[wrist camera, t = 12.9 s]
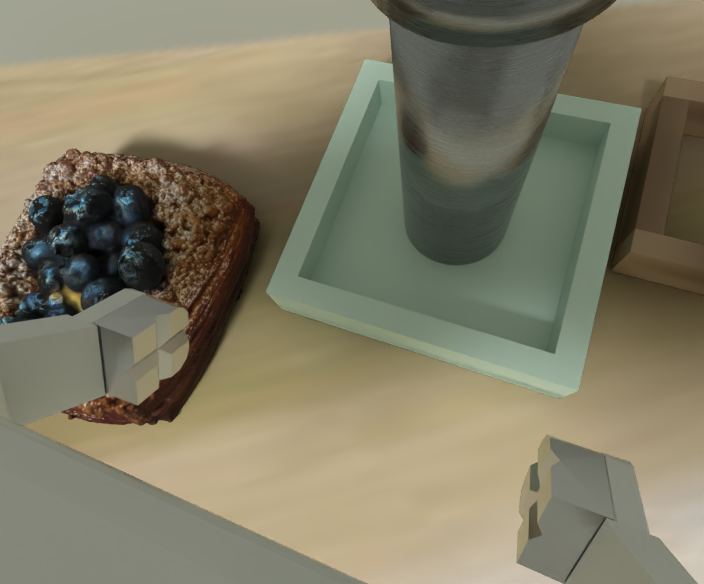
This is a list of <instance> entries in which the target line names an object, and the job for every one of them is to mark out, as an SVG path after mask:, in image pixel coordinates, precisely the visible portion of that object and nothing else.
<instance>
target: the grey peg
mask: <svg viewBox="0 0 704 584" xmlns="http://www.w3.org/2000/svg"><path fill="white" fill-rule="evenodd" d="M371 1H372V2H373V3H374V4H375V6H376V7H377V8H378V9H379V10H380V11H381V12H382V13H384V14H385V15H386V16H387V17H388V18H389V23H390V36H391V49H392V63H393V76H394V90H395V103H396V116H397V130H398V143H399V157H400V170H401V183H402V197H403V210H404V223H405V229H406V233H407V236H408V238H409V240H410V241H411V243H412V244H413V246H414V247H415V248H416V249H417V250H418V251H419V252H420V253H421V254H422V255H424V256H425V257H427V258H429V259H431V260H433V261H435V262H438V263H441V264H446V265H466V264H471V263H474V262H477V261H479V260H482V259H483V258H485V257H487V256H488V255H490V254H491V253H492V252H493V251H494V250H495V249H496V248H497V247H498V246H499V245H500V243H501V242H502V240H503V238H504V236H505V233H506V231H507V228H508V225H509V223H510V220H511V217H512V215H513V212H514V209H515V207H516V204H517V201H518V199H519V196H520V193H521V190H522V188H523V185H524V182H525V180H526V177H527V174H528V172H529V169H530V166H531V164H532V161H533V158H534V156H535V153H536V150H537V147H538V145H539V142H540V139H541V137H542V134H543V131H544V129H545V126H546V123H547V121H548V118H549V115H550V113H551V110H552V107H553V105H554V102H555V99H556V96H557V94H558V91H559V88H560V86H561V83H562V80H563V78H564V75H565V72H566V70H567V67H568V64H569V62H570V59H571V56H572V53H573V51H574V48H575V45H576V43H577V40H578V37H579V35H580V32H581V29H582V27H583V24H584V23H586V22H588V21H589V20H591V19H593V18H594V17H596V16H597V15H599V14H600V13H601V12H603V11H604V10H606V9H607V8H608V7H610V6H611V5H612V4H613V3H614V2H615V1H616V0H371Z"/></svg>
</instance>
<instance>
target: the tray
mask: <svg viewBox="0 0 704 584" xmlns="http://www.w3.org/2000/svg"><path fill="white" fill-rule="evenodd" d="M641 110H642V108H637V107H632V106H626V105H621V104H615V103H609V102H604V101H598V100H593V99H587V98H581V97H576V96H570V95H565V94H559V93H558V94H557V96H556V99H555V102H554V105H553V107H552V110H551V113H550V115H549V118H548V121H547V123H546V126H545V129H544V131H543V134H542V137H541V139H540V142H539V145H538V147H537V150H536V153H535V156H534V158H533V161H532V164H531V166H530V169H529V172H528V174H527V177H526V180H525V182H524V185H523V188H522V190H521V193H520V196H519V199H518V201H517V204H516V207H515V209H514V212H513V215H512V217H511V220H510V223H509V225H508V228H507V231H506V233H505V236H504V238H503V240H502V242H501V243H500V245H499V246H498V247H497V248H496V249H495V250H494V251H493V252H492V253H491V254H490V255H488V256H487V257H485V258H483V259H482V260H479V261H477V262H474V263H471V264H466V265H446V264H441V263H438V262H435V261H433V260H431V259H429V258H427V257H425V256H424V255H422V254H421V253H420V252H419V251H418V250H417V249H416V248H415V247H414V246H413V244H412V243H411V241H410V240H409V238H408V236H407V233H406V229H405V223H404V210H403V197H402V183H401V170H400V157H399V143H398V130H397V116H396V103H395V90H394V76H393V64H391V63H385V62H380V61H374V60H369V59H365V61H364V63H363V65H362V68H361V70H360V72H359V75H358V77H357V79H356V82H355V84H354V86H353V89H352V91H351V93H350V96H349V98H348V101H347V103H346V105H345V108H344V110H343V112H342V115H341V117H340V119H339V122H338V124H337V126H336V129H335V131H334V133H333V136H332V138H331V140H330V143H329V145H328V147H327V150H326V152H325V154H324V157H323V159H322V161H321V164H320V166H319V168H318V171H317V173H316V175H315V178H314V180H313V182H312V185H311V187H310V189H309V192H308V194H307V196H306V199H305V201H304V203H303V206H302V208H301V210H300V213H299V215H298V217H297V220H296V222H295V224H294V227H293V229H292V231H291V234H290V236H289V238H288V241H287V243H286V245H285V248H284V250H283V252H282V255H281V257H280V259H279V262H278V264H277V266H276V269H275V271H274V273H273V276H272V278H271V280H270V283H269V285H268V288H267V290H266V293H267V294H268V295H269V296H270V297H271V298H272V299H273V300H274V301H275V302H276V303H277V304H278V305H279V307H280V308H281V309H283V310H286V311H289V312H292V313H295V314H298V315H301V316H304V317H308V318H311V319H314V320H317V321H320V322H323V323H326V324H329V325H332V326H335V327H339V328H342V329H345V330H348V331H351V332H354V333H357V334H360V335H363V336H366V337H370V338H373V339H376V340H379V341H382V342H385V343H388V344H391V345H394V346H397V347H401V348H404V349H407V350H410V351H413V352H416V353H419V354H422V355H425V356H428V357H431V358H435V359H438V360H441V361H444V362H447V363H450V364H453V365H456V366H459V367H462V368H466V369H469V370H472V371H475V372H478V373H481V374H484V375H487V376H490V377H493V378H497V379H500V380H503V381H506V382H509V383H512V384H515V385H518V386H521V387H524V388H528V389H531V390H534V391H537V392H540V393H543V394H546V395H549V396H552V397H555V398H558V399H560V398H563V397H565V396H567V395H570V394H572V393H574V392H577V391H579V386H580V382H581V377H582V373H583V368H584V364H585V360H586V355H587V351H588V346H589V342H590V337H591V333H592V328H593V324H594V319H595V315H596V310H597V306H598V301H599V297H600V293H601V288H602V284H603V279H604V275H605V270H606V266H607V261H608V257H609V252H610V248H611V243H612V239H613V235H614V230H615V226H616V221H617V217H618V212H619V208H620V203H621V199H622V194H623V190H624V185H625V181H626V177H627V172H628V168H629V163H630V159H631V154H632V150H633V145H634V141H635V136H636V132H637V127H638V123H639V118H640V114H641Z"/></svg>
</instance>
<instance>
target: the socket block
mask: <svg viewBox="0 0 704 584" xmlns="http://www.w3.org/2000/svg"><path fill="white" fill-rule="evenodd" d="M683 134H686V135H691V136H697V137H702V138H704V82H697V81H691V80H685V79H679V78H673V77H667V78H666V80H665V81H664V83H663V84H662V86H661V87H660V89H659V90H658V92H657V94H656V95H655V97H654V98H653V100H652V101H651V103H650V104H649V106H648V108H647V110H646V114H645V119H644V123H643V128H642V132H641V137H640V141H639V146H638V150H637V155H636V159H635V164H634V169H633V173H632V178H631V182H630V187H629V191H628V196H627V200H626V205H625V209H624V214H623V218H622V223H621V227H620V232H619V236H618V241H617V246H616V250H615V255H614V259H613V264H612V268H611V271H613V272H616V273H620V274H624V275H628V276H632V277H636V278H640V279H644V280H648V281H652V282H656V283H659V284H663V285H667V286H671V287H675V288H679V289H683V290H687V291H691V292H695V293H698V294H702V295H704V245H703V244H699V243H695V242H690V241H686V240H682V239H678V238H673V237H669V236H665V235H664V231H665V225H666V220H667V215H668V210H669V205H670V199H671V194H672V189H673V184H674V179H675V173H676V168H677V163H678V158H679V153H680V147H681V142H682V137H683Z"/></svg>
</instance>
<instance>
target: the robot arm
mask: <svg viewBox="0 0 704 584" xmlns="http://www.w3.org/2000/svg"><path fill="white" fill-rule="evenodd" d="M188 325H189V319H188V312H187V311H186V310H185V309H184V308H183V307H181V306H178V305H176V304H173V303H170V302H168V301H165V300H162V299H160V298H157V297H154V296H152V295H148V294H146V293H143V292H140V291H137V290H135V289H123V290H121V291H119V292H117V293H115V294H114V295H112V296H110V297H108V298H106V299H104V300H102V301H101V302H99V303H97V304H95V305H93V306H91V307H89V308H87V309H86V310H84V311H82V312H80V313H78V314H76V315H74V316H70V315H61V316H54V317H48V318H41V319H35V320H28V321H22V322H15V323H9V324H2V325H0V584H367V583H365V582H363V581H361V580H359V579H356V578H354V577H352V576H350V575H348V574H345V573H343V572H341V571H339V570H337V569H335V568H332V567H330V566H328V565H326V564H324V563H321V562H319V561H317V560H315V559H313V558H310V557H308V556H306V555H304V554H302V553H300V552H297V551H295V550H293V549H291V548H289V547H286V546H284V545H282V544H280V543H278V542H276V541H273V540H271V539H269V538H267V537H265V536H262V535H260V534H258V533H256V532H254V531H251V530H249V529H247V528H245V527H243V526H241V525H238V524H236V523H234V522H232V521H230V520H227V519H225V518H223V517H221V516H219V515H217V514H214V513H212V512H210V511H208V510H206V509H203V508H201V507H199V506H197V505H195V504H192V503H190V502H188V501H186V500H184V499H182V498H179V497H177V496H175V495H173V494H171V493H168V492H166V491H164V490H162V489H160V488H158V487H155V486H153V485H151V484H149V483H147V482H144V481H142V480H140V479H138V478H136V477H133V476H131V475H129V474H127V473H125V472H123V471H120V470H118V469H116V468H114V467H112V466H109V465H107V464H105V463H103V462H101V461H98V460H96V459H94V458H92V457H90V456H88V455H85V454H83V453H81V452H79V451H77V450H74V449H72V448H70V447H68V446H66V445H63V444H61V443H59V442H57V441H55V440H53V439H50V438H48V437H46V436H44V435H42V434H39V433H37V432H35V431H33V430H31V429H29V428H26V427H24V425H27V424H29V423H32V422H35V421H37V420H40V419H43V418H46V417H48V416H51V415H54V414H56V413H59V412H62V411H64V410H67V409H70V408H73V407H75V406H78V405H81V404H83V403H86V402H89V401H91V400H94V399H97V398H100V397H102V396H105V395H106V394H109V395H111V396H114V397H117V398H119V399H122V400H124V401H127V402H130V403H132V404H135V405H139V404H140V403H142V402H143V401H144V400H145V399H146V398H147V397H149V396H150V395H151V394H152V393H153V392H155V391H156V390H157V389H158V388H159V381H160V380H162V379H166V378H169V377H172V376H173V375H174V374H176V373H177V372H178V371H179V370H180V369H181V367H182V365H183V364H184V362H185V360H186V359H187V355H188V351H189V339H188V338H187V336H186V334H185V332H184V329H185V328H186V327H187V326H188ZM105 393H106V394H105ZM519 513H520V515H521V517H522V518H523V522H522V524H521V526H520V528H519V531H518V540H517V563H518V564H520V565H523V566H525V567H527V568H529V569H532V570H534V571H536V572H538V573H541V574H543V575H545V576H547V577H550V578H552V579H554V580H556V581H559V582H561V583H563V584H697V582H696V581H695V580H694V579H693V578H692V576H691V575H690V574H689V573H688V572H687V571H686V569H685V568H684V567H683V566H682V565H681V563H680V562H679V561H678V560H677V559H676V558H675V556H674V555H673V554H672V553H671V552H670V551H669V549H668V548H667V547H666V546H665V545H664V543H663V542H662V541H661V540H660V539H659V538H658V537H655V536H652V535H650V533H649V529H648V524H647V520H646V516H645V512H644V508H643V503H642V499H641V495H640V491H639V486H638V482H637V478H636V474H635V470H634V466H633V465H632V464H631V462H629V461H626V460H623V459H620V458H617V457H614V456H611V455H608V454H604V453H599V452H596V451H593V450H590V449H587V448H584V447H581V446H578V445H575V444H573V443H570V442H567V441H564V440H561V439H558V438H555V437H552V436H549V435H546V436H545V438H544V439H543V440H542V442H541V444H540V446H539V448H538V462H537V463H535V464H532V465H530V468H529V470H528V472H527V475H526V477H525V480H524V483H523V487H522V490H521V496H520V503H519Z"/></svg>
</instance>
